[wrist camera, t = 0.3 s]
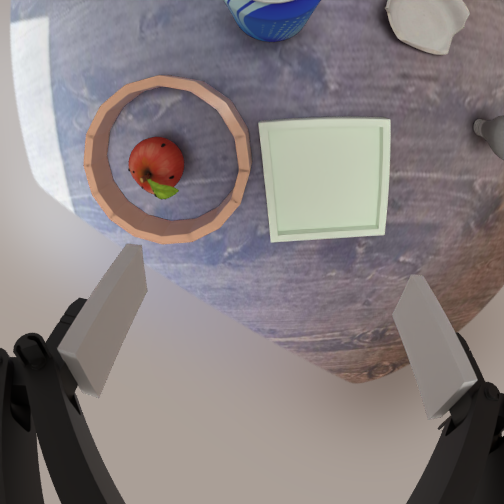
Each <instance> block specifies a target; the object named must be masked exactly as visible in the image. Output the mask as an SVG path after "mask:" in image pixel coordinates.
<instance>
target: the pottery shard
mask: <svg viewBox="0 0 504 504" xmlns="http://www.w3.org/2000/svg"><path fill="white" fill-rule="evenodd" d="M385 9H386V11H387V13H388V18H389V22H390V25H391V27H392V29H393V31H394V33H395V35H396V36H397V37H398V39H399V40H401V41H402V42H404V43H406V44H409V45H411V46H413V47H415V48H417V49H420V50H423V51H425V52H428V53H433V55H434V54H438V55H445V54H448V52H449V47H450V44H451V41H452V38H453V36H454V35H455V34H456V33H457V32H459V31H460V30H461V29H463V28H464V24H465V22H466V20H467V18H468V16H469V14H470V13H469V11H468V8H467V7H466V5H465V4H464V2H463V1H462V0H388V1H387V5H386V8H385Z"/></svg>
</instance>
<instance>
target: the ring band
mask: <svg viewBox="0 0 504 504" xmlns="http://www.w3.org/2000/svg"><path fill="white" fill-rule="evenodd" d="M163 86H164V87H170V88H176V89H181V90H187V91H191V92H192V93H194V94H195V95H197V96H198V97H200V98H201V99H202V100H204V101H205V102H207V103H208V104H210V105H211V106H212V107H214V108H215V109H217V110H218V112H219V113H220V115H221V117H222V118H223V120H224V121H225V123H226V125H227V126H228V128H229V130H230V131H231V133H232V135H233V136H234V138H235V143H236V151H237V158H238V165H239V173H238V176H237V180H236V183H235V187H234V188H233V190H232V191H231V192H230V193H229V194H228V196H227V197H226V198H225V199H224V201H223V202H222V203H221V204H220V205H219V207H217V208H215V209H213V210H211V211H209V212H207V213H205V214H204V215H202V216H200V217H198V218H195V219H186V220H176V221H170V220H166V219H162V218H159V217H155V216H151V215H148V214H146V213H145V212H143V211H142V210H140V209H139V208H138V207H136V206H135V205H133V204H132V203H130V202H129V201H128V200H127V199H126V198H125V196H124V195H123V193H122V192H121V191H120V189H119V188H118V186H117V185H116V183H115V182H114V180H113V177H112V173H111V170H110V166H109V162H108V158H107V151H108V143H109V134H110V130H111V128H112V126H113V124H114V122H115V121H116V119H117V117H118V115H119V113H120V112H121V110H122V108H123V107H124V106H126V105H127V104H128V103H129V102H131V101H132V100H133V99H135V98H136V97H137V96H138V95H140V94H141V93H142V92H144V91H147V90H151V89H155V88H159V87H163ZM251 165H252V155H251V147H250V139H249V131H248V128H247V126H246V124H245V123H244V121H243V119H242V118H241V116H240V114H239V113H238V111H237V109H236V108H235V106H234V104H233V103H232V101H231V100H230V99H228V98H227V97H226V96H224V95H223V94H221V93H220V92H218V91H217V90H216V89H214V88H213V87H211V86H210V85H208V84H207V83H205V82H204V81H199V80H194V79H189V78H183V77H177V76H172V75H158V76H155V77H151V78H147V79H143V80H140V81H136V82H133V83H130V84H126V85H125V86H123V87H122V88H121V89H120V90H118V91H117V92H116V93H115V94H114V95H113V96H111V97H110V98H109V99H108V100H107V101H106V102H104V103H103V104H102V105H101V106H100V108H99V110H98V111H97V113H96V115H95V117H94V119H93V121H92V123H91V125H90V127H89V129H88V132H87V134H86V140H85V152H84V169H85V172H86V176H87V180H88V183H89V186H90V190H91V193H92V195H93V197H94V198H95V200H96V201H97V203H98V204H99V205H100V207H101V208H102V209H103V211H104V212H105V214H106V215H107V216H108V218H109V219H110V220H111V221H113V222H114V223H116V224H117V225H119V226H120V227H121V228H123V229H124V230H126V231H127V232H129V233H130V234H131V235H133V236H135V237H138V238H142V239H145V240H149V241H152V242H156V243H160V244H173V243H185V242H193V241H195V240H197V239H199V238H201V237H203V236H205V235H207V234H209V233H211V232H213V231H215V230H217V229H219V228H220V227H221V226H222V225H223V224H224V223H225V221H226V220H227V219H228V218H229V217H230V215H231V214H232V213H233V212H234V211H235V210H236V208H237V207H238V206H239V205H240V204H241V200H242V197H243V193H244V190H245V186H246V183H247V180H248V176H249V173H250V170H251Z"/></svg>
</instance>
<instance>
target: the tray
mask: <svg viewBox="0 0 504 504" xmlns="http://www.w3.org/2000/svg"><path fill="white" fill-rule="evenodd" d="M258 125H259V134H260V142H261V151H262V160H263V170H264V179H265V188H266V198H267V208H268V217H269V227H270V238H271V242H285V241H299V240H314V239H329V238H344V237H359V236H375V235H384V234H385V225H386V214H387V203H388V189H389V170H390V119H388V118H385V117H309V118H290V119H276V120H264V121H259V122H258Z"/></svg>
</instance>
